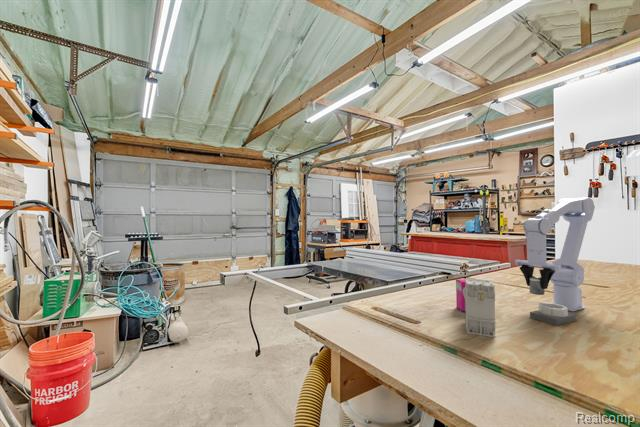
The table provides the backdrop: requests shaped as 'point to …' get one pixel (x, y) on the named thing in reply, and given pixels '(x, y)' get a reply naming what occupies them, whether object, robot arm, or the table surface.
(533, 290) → the lens
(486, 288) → the circuit breaker
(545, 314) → the camera body
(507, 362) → the table surface
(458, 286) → the supplement box
